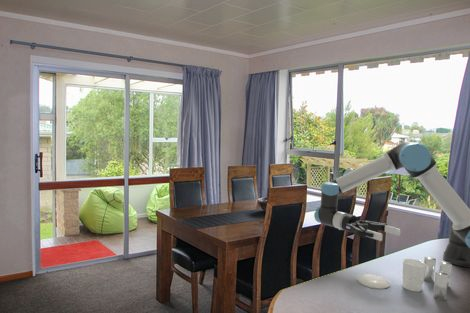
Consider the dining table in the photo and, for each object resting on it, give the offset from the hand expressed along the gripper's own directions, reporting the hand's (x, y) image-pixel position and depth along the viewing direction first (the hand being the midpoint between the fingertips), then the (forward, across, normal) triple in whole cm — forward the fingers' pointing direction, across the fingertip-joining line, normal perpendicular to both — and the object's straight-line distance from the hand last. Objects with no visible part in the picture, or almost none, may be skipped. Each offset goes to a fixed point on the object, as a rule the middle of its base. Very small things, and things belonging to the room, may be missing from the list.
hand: (391, 234), depth 151 cm
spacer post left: (+10, -13, -18) cm, 24 cm away
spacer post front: (+20, 0, -18) cm, 27 cm away
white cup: (+10, 0, -18) cm, 21 cm away
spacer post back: (+16, -13, -18) cm, 27 cm away
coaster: (-1, +8, -18) cm, 20 cm away
